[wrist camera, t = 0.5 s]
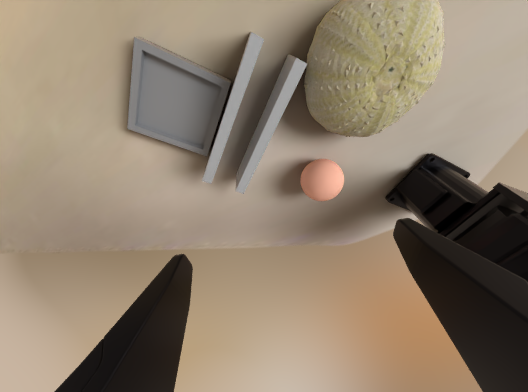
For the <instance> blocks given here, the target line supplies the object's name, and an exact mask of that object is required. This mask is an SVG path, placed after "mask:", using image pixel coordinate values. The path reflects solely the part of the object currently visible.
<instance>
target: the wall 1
mask: <svg viewBox="0 0 528 392" xmlns="http://www.w3.org/2000/svg"><path fill="white" fill-rule="evenodd" d="M263 41H264V39H263V38H261V37H260V36H258V35H256V34H254V33H253V32H250V34H249V37H248V40H247V43H246V46H245V49H244V53H243V56H242V59H241V62H240V65H239V68H238V71H237V74H236V77H235V80H234V83H233V86H232V89H231V92H230V95H229V98H228V101H227V104H226V107H225V110H224V113H223V116H222V119H221V122H220V125H219V128H218V131H217V134H216V138H215V141H214V144H213V147H212V150H211V153H210V156H209V159H208V162H207V165H206V169H205V172H204V176H203V179H202V181H204V182H207V183H210V184H211V183H212V181H213V178H214V175H215V172H216V170H217V167H218V164H219V161H220V159H221V156H222V153H223V151H224V148H225V145H226V142H227V140H228V137H229V134H230V131H231V129H232V126H233V123H234V120H235V118H236V115H237V112H238V110H239V107H240V104H241V101H242V99H243V96H244V93H245V90H246V88H247V85H248V82H249V79H250V77H251V74H252V71H253V69H254V66H255V63H256V60H257V58H258V55H259V52H260V49H261V47H262V44H263Z"/></svg>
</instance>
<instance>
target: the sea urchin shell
mask: <svg viewBox="0 0 528 392" xmlns="http://www.w3.org/2000/svg"><path fill="white" fill-rule="evenodd" d="M443 13H444V12H443V11H442V10H441V7H440V4H439V2H438V0H341V1H340V2H339V3H338V4H336V5H335V6H334V7H333V8H332V9H331V10H330V11H329V12H327V13H326V15H325V16H324V18H323V19H322V21H321V22H320V24H319V25H318V26H317V29H316V33H315V35H314V38H313V42H312V44H311V46H310V49H309V53H308V54H307V61H306V63H307V66H306V74H305V78H304V80H305V83H304V87H305V93H306V102H307V107H308V109H309V112H310V114H311V115H312V117H313V118H314V119H315V120H316V121H317V122H318V123H320V124H321V125H322V126H323V127H324V128H326V130H328V131H330V132H332V133H338V134H340V135H345V136H346V137H347V136H349V137H350V136H358V137H368V136H370V135H373V134H377V133H380V132H381V131H382V130H384V129H385V128H386V127H388V126H390V125H392V124H393V123H395V122H397V121H398V120H399V118H401V117H402V116H403V115H404V114H405V113H406V112H407V111H409V110H410V109H411V108H412V107H413V106H414V105H415V104H417V103H418V100H419V99H420V98H421V97H422V96H423V94H424V93H425V92H426V91H427V90H428V89H429V87H430V86H431V85H432V84H433V83H434V81H435V78H436V76H437V74H438V72H439V70H440V66H441V60H442V54H443V48H444V46H445V42H444V32H443V21H444V20H443V18H444V17H443Z"/></svg>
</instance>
